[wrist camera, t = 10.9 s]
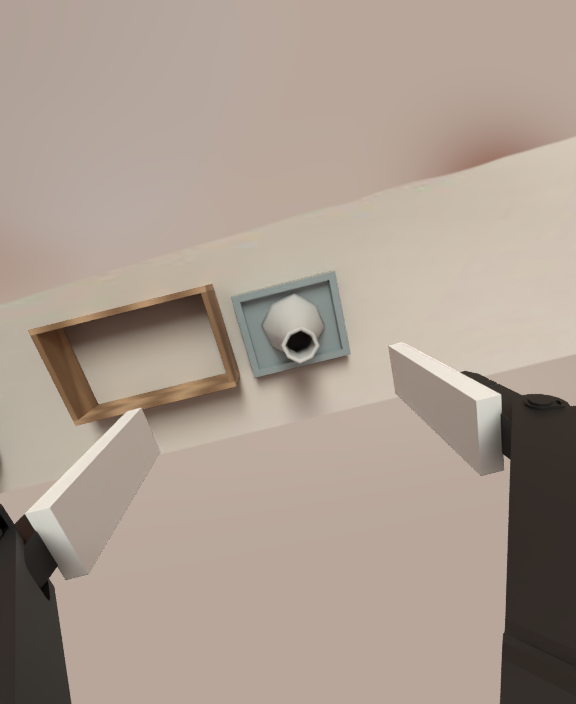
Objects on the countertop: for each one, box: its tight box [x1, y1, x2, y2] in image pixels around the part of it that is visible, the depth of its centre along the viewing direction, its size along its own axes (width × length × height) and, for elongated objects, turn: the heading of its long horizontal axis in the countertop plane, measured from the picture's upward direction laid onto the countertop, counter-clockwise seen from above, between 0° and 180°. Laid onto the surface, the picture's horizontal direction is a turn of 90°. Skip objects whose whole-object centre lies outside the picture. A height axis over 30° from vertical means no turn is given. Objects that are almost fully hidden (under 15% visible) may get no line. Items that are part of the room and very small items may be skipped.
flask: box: [261, 293, 325, 364], centre depth 30 cm, size 7×7×10 cm
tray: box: [231, 271, 350, 378], centre depth 35 cm, size 12×10×2 cm
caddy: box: [28, 284, 240, 426], centre depth 34 cm, size 19×12×4 cm, turn 104°
